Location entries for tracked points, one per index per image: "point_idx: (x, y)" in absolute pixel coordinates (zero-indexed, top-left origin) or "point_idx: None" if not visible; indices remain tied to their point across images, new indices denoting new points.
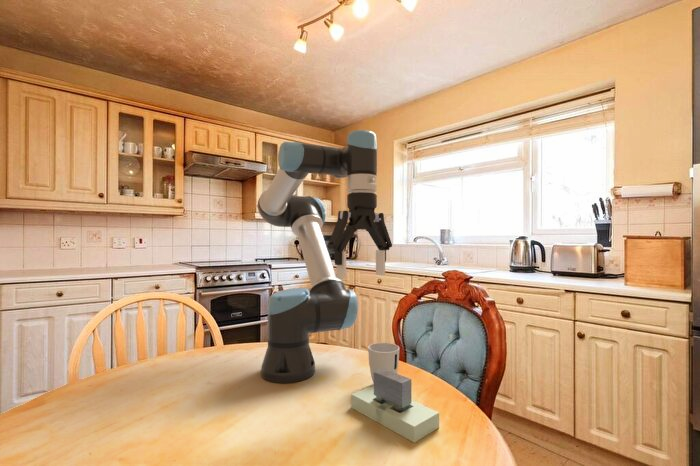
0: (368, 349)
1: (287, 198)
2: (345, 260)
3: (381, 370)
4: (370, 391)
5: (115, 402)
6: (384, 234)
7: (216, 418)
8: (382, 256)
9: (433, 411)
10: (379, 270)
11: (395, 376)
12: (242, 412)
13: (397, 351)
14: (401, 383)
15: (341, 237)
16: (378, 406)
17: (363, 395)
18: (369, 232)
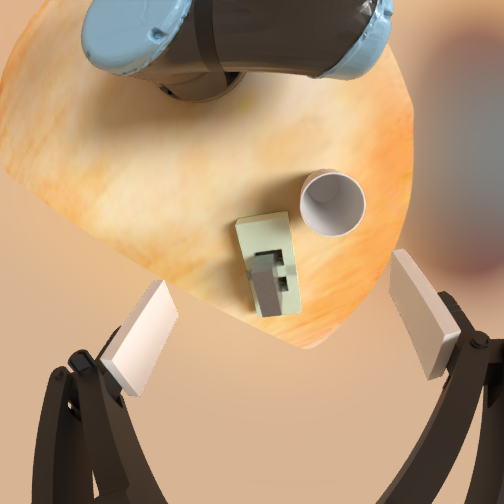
0: (303, 191)
1: None
2: (150, 366)
3: (265, 274)
4: (265, 232)
5: (30, 97)
6: (479, 452)
7: (93, 167)
8: (418, 349)
9: (298, 308)
10: (396, 284)
11: (269, 299)
12: (115, 164)
13: (342, 234)
14: (262, 315)
15: (91, 433)
16: (249, 270)
17: (248, 237)
18: (391, 492)
